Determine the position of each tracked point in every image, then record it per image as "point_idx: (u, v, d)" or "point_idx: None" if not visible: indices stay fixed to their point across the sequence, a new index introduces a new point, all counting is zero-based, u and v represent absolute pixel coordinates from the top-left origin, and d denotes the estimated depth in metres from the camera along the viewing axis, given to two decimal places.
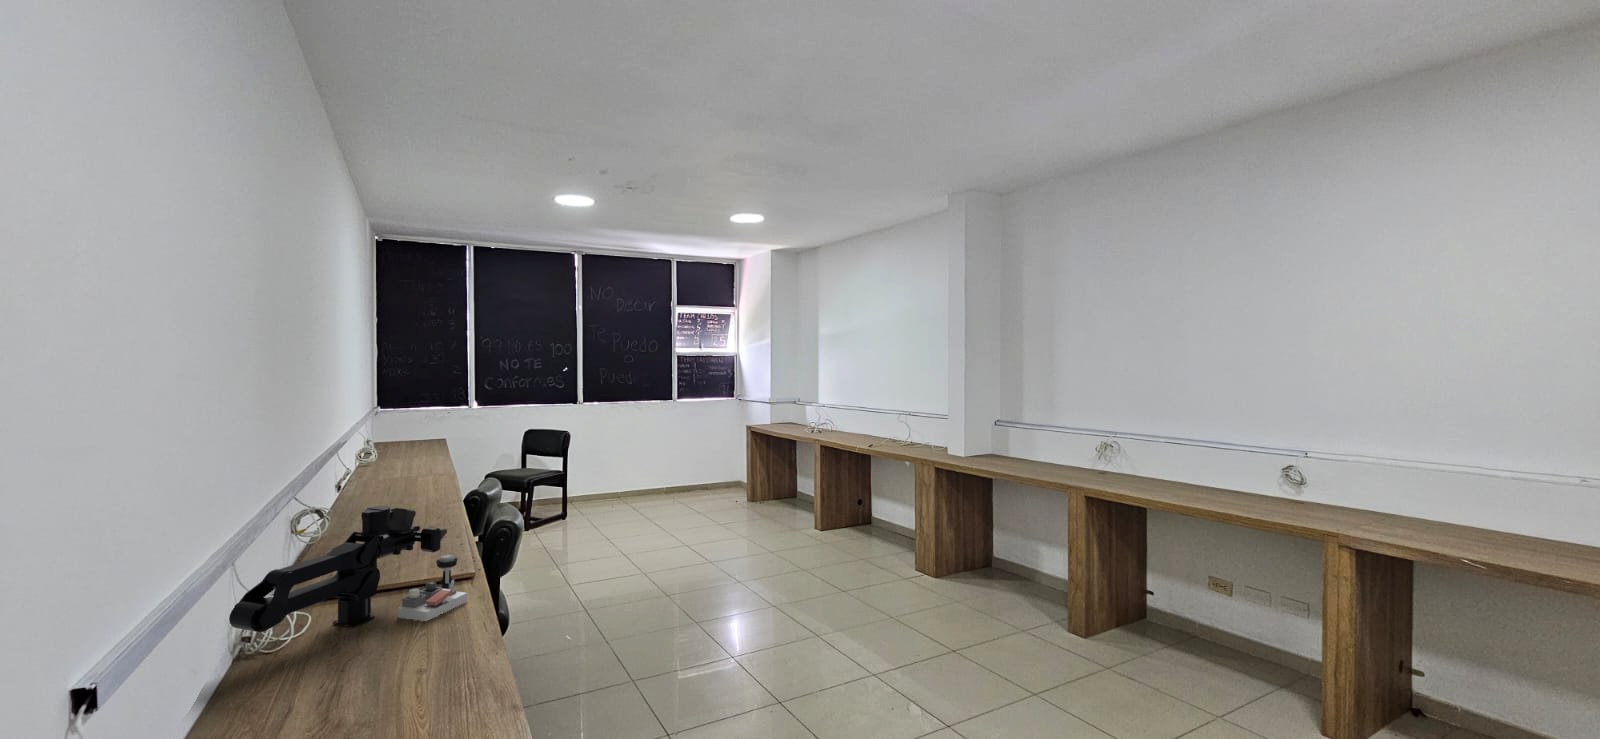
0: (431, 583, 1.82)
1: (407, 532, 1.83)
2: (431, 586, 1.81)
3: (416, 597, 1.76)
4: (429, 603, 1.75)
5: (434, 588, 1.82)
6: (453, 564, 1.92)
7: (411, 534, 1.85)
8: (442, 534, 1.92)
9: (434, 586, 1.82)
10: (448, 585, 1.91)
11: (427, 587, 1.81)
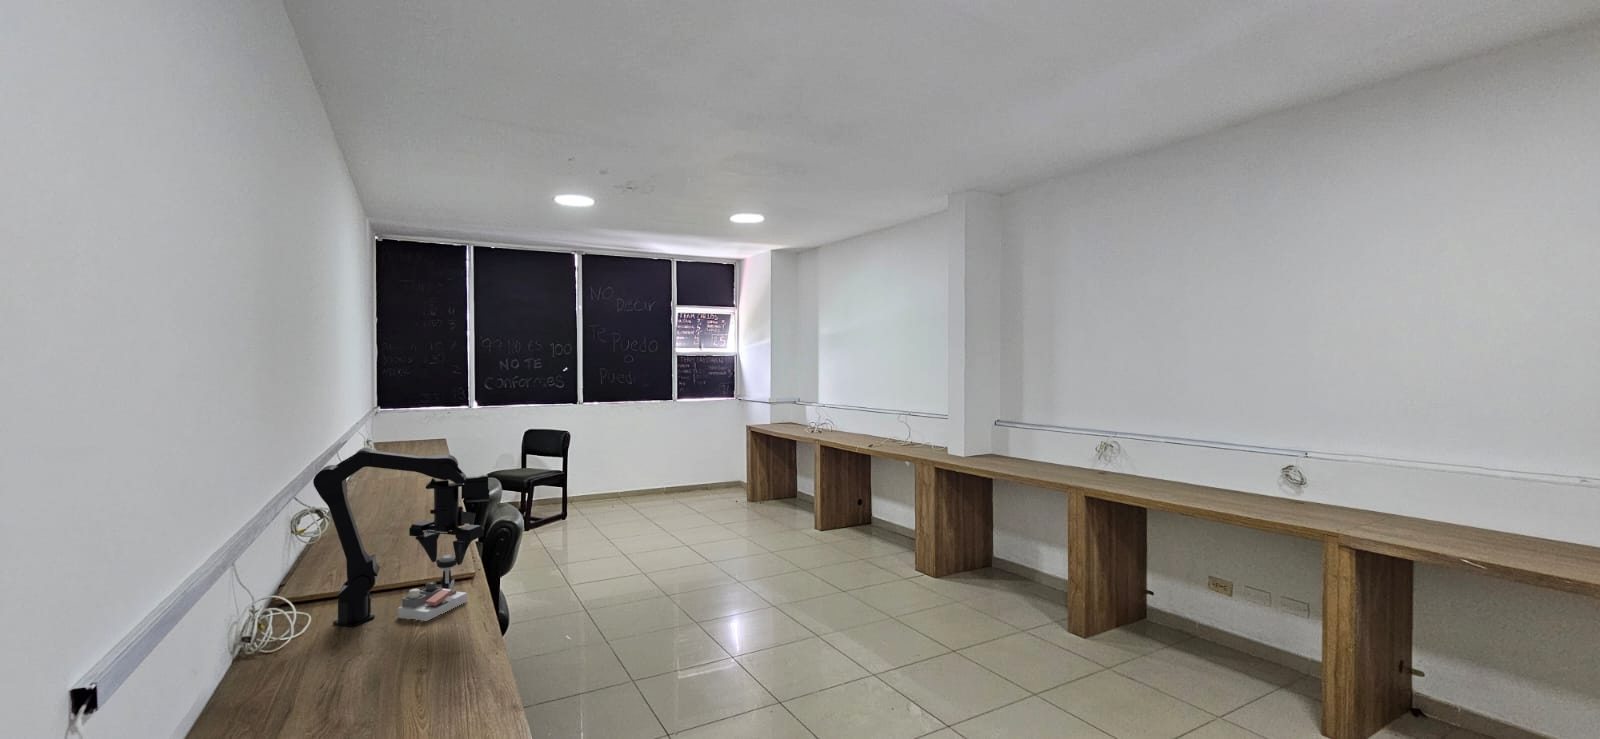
0: (431, 583, 1.82)
1: (462, 516, 1.81)
2: (431, 586, 1.81)
3: (416, 597, 1.76)
4: (429, 603, 1.75)
5: (434, 588, 1.82)
6: (453, 564, 1.92)
7: (458, 524, 1.81)
8: (461, 555, 1.79)
9: (434, 586, 1.82)
10: (448, 585, 1.91)
11: (427, 587, 1.81)
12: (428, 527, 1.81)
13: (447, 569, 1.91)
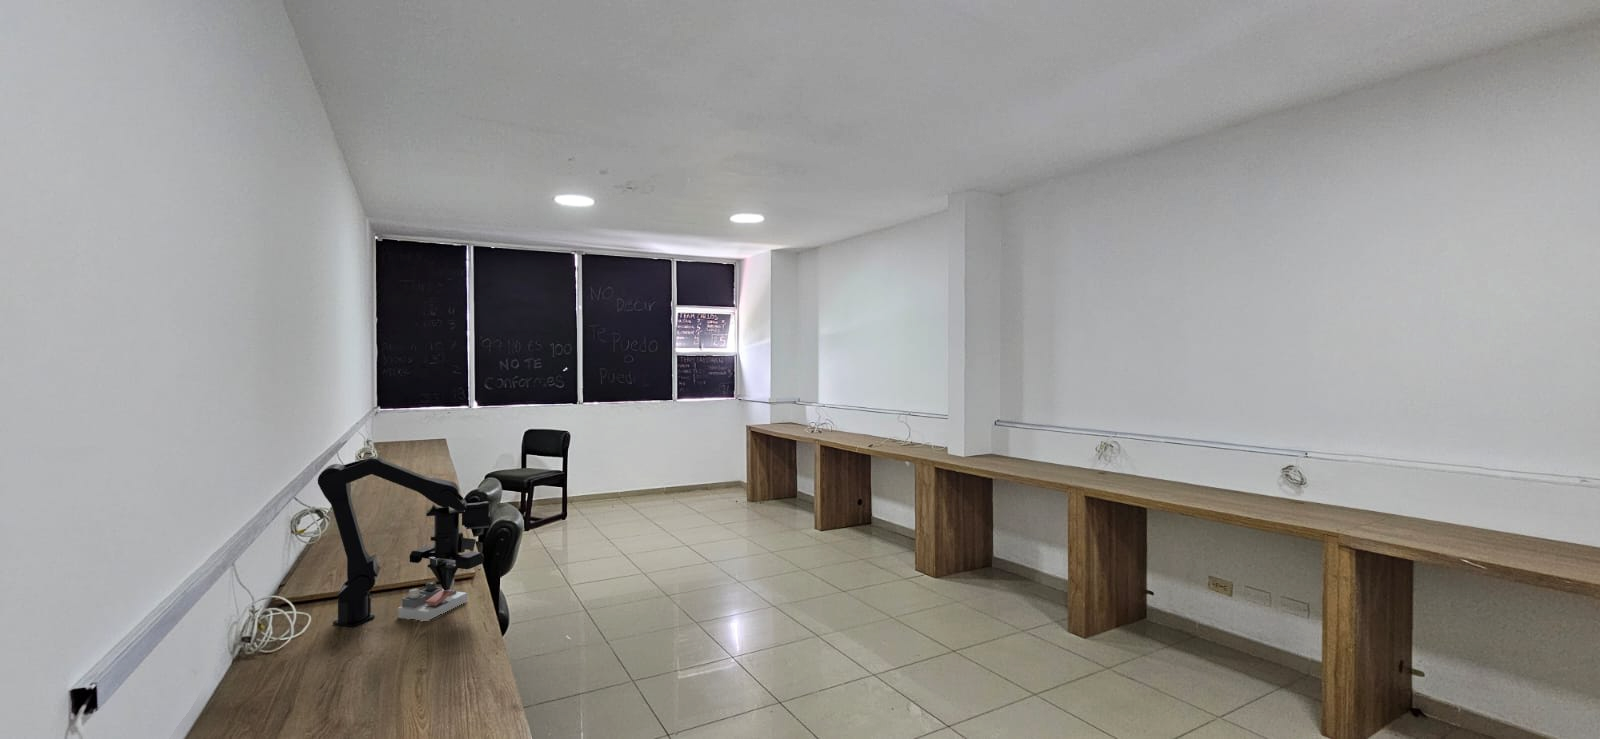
0: (431, 583, 1.82)
1: (462, 543, 1.82)
2: (431, 586, 1.81)
3: (416, 597, 1.76)
4: (429, 603, 1.75)
5: (434, 588, 1.82)
6: None
7: (458, 550, 1.81)
8: (449, 580, 1.80)
9: (434, 586, 1.82)
10: None
11: (427, 587, 1.81)
12: (428, 553, 1.81)
13: None
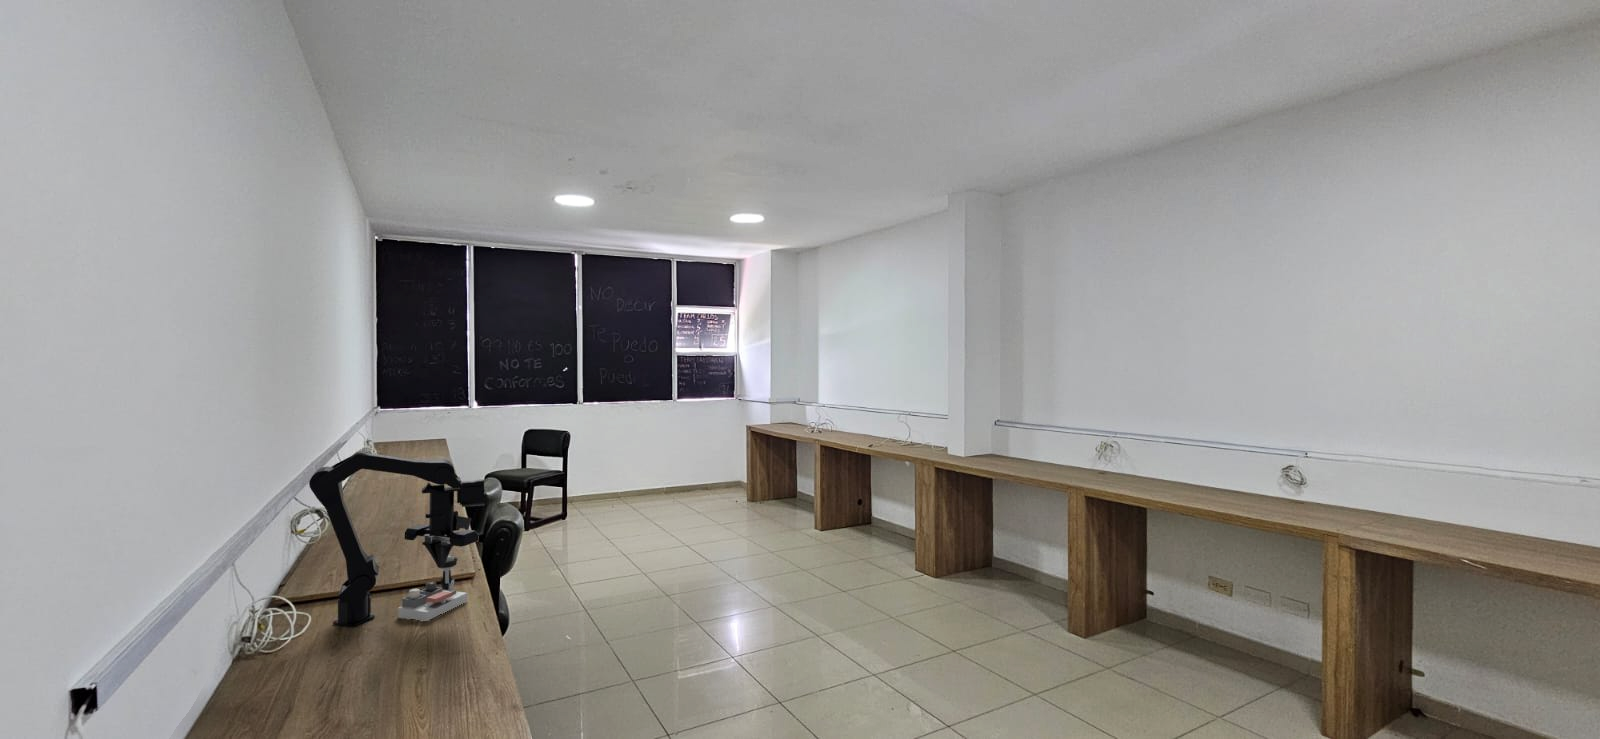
0: (431, 583, 1.82)
1: (457, 521, 1.82)
2: (431, 586, 1.81)
3: (416, 597, 1.76)
4: (429, 601, 1.75)
5: (434, 588, 1.82)
6: (453, 564, 1.92)
7: (453, 528, 1.81)
8: (444, 558, 1.80)
9: (434, 586, 1.82)
10: (448, 585, 1.91)
11: (427, 587, 1.81)
12: (423, 531, 1.81)
13: (447, 569, 1.91)
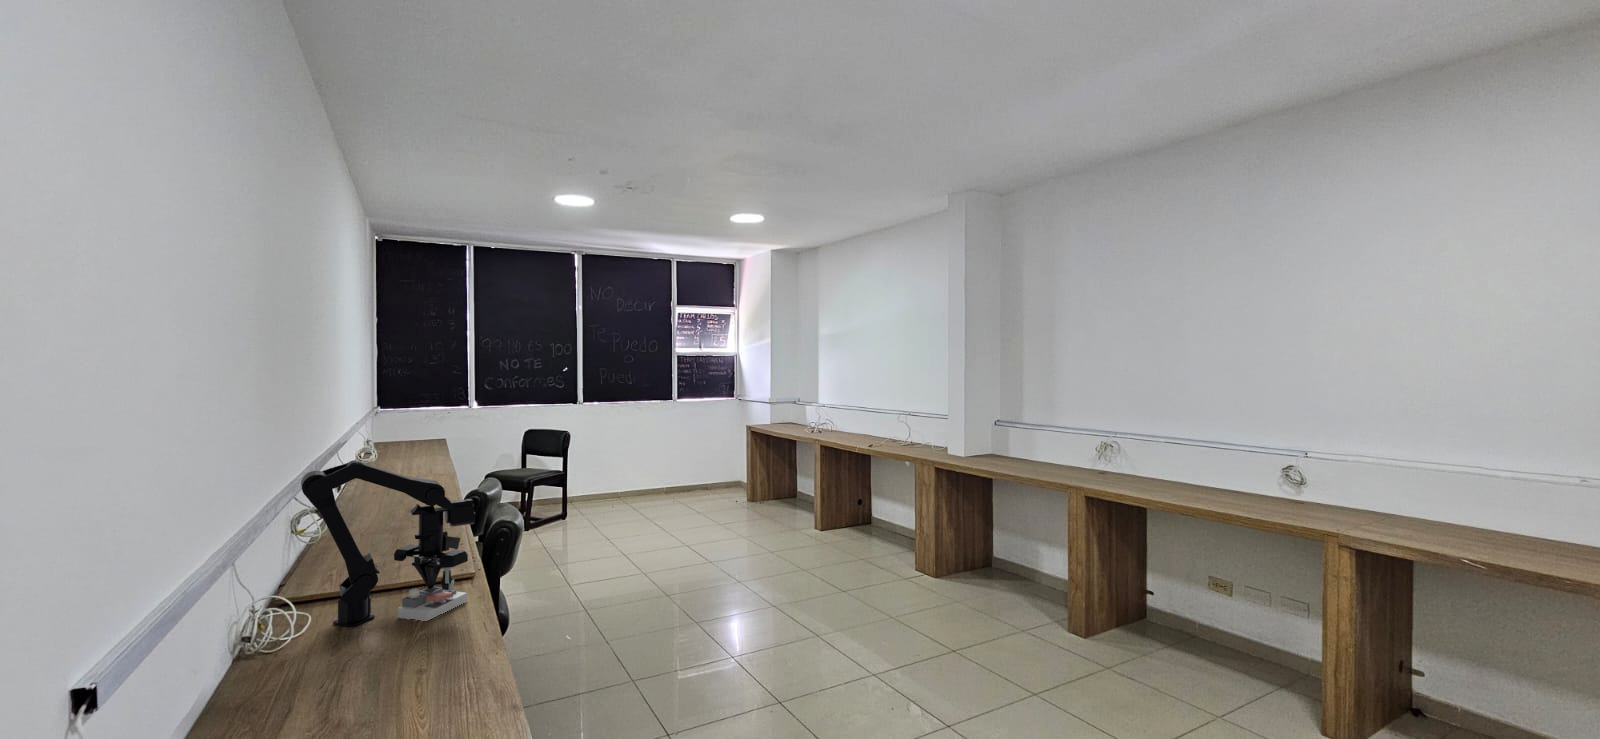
0: None
1: (447, 541, 1.83)
2: (431, 590, 1.81)
3: (416, 597, 1.76)
4: (429, 599, 1.75)
5: None
6: None
7: (442, 549, 1.82)
8: (433, 578, 1.81)
9: (434, 590, 1.82)
10: (448, 585, 1.91)
11: (427, 591, 1.81)
12: (413, 552, 1.82)
13: (447, 569, 1.91)
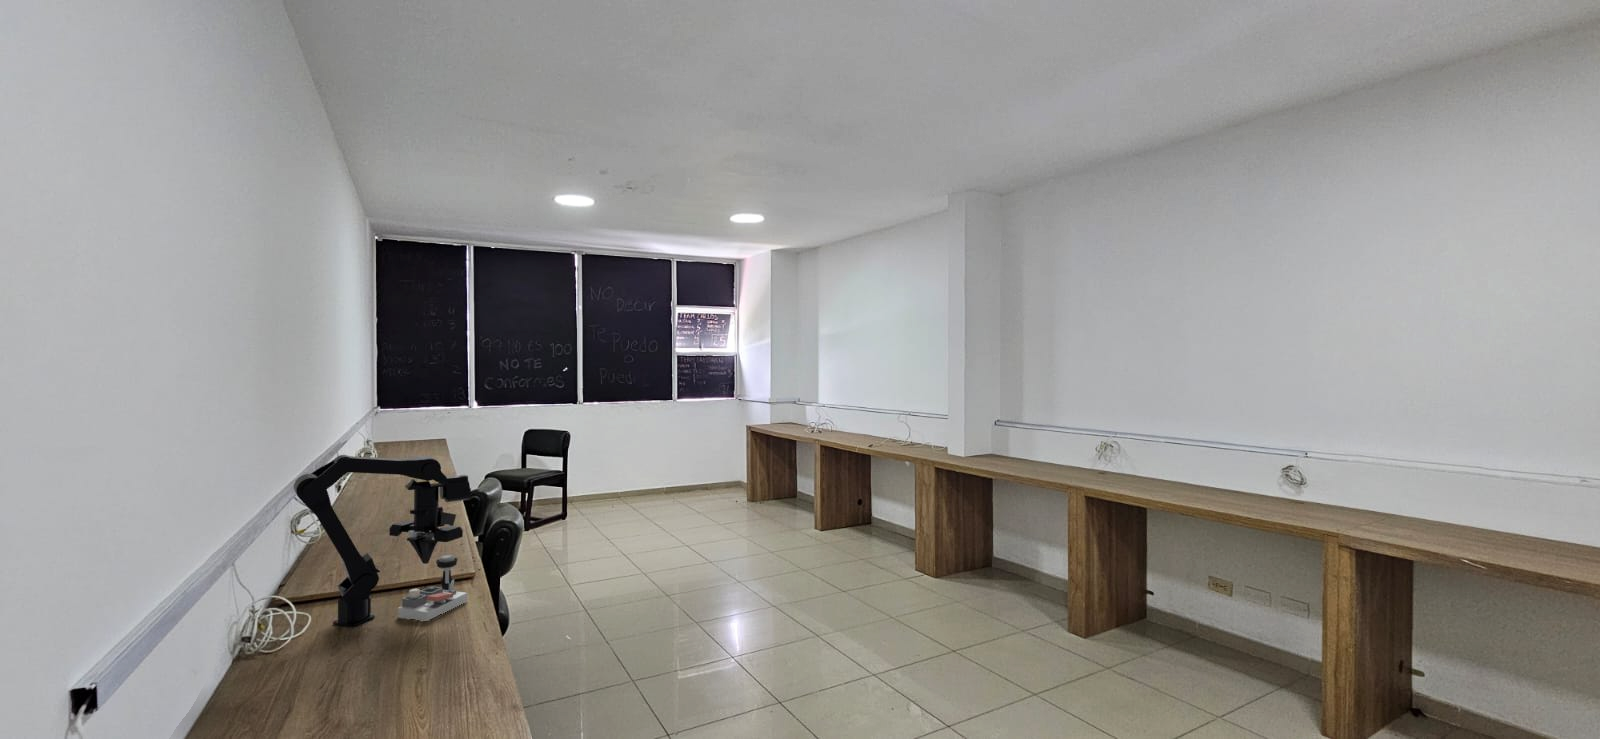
0: (431, 587, 1.82)
1: (442, 517, 1.83)
2: (431, 591, 1.81)
3: (416, 597, 1.76)
4: (429, 599, 1.75)
5: None
6: (453, 564, 1.92)
7: (438, 524, 1.82)
8: (428, 554, 1.81)
9: None
10: (448, 585, 1.91)
11: None
12: (408, 527, 1.82)
13: (447, 569, 1.91)
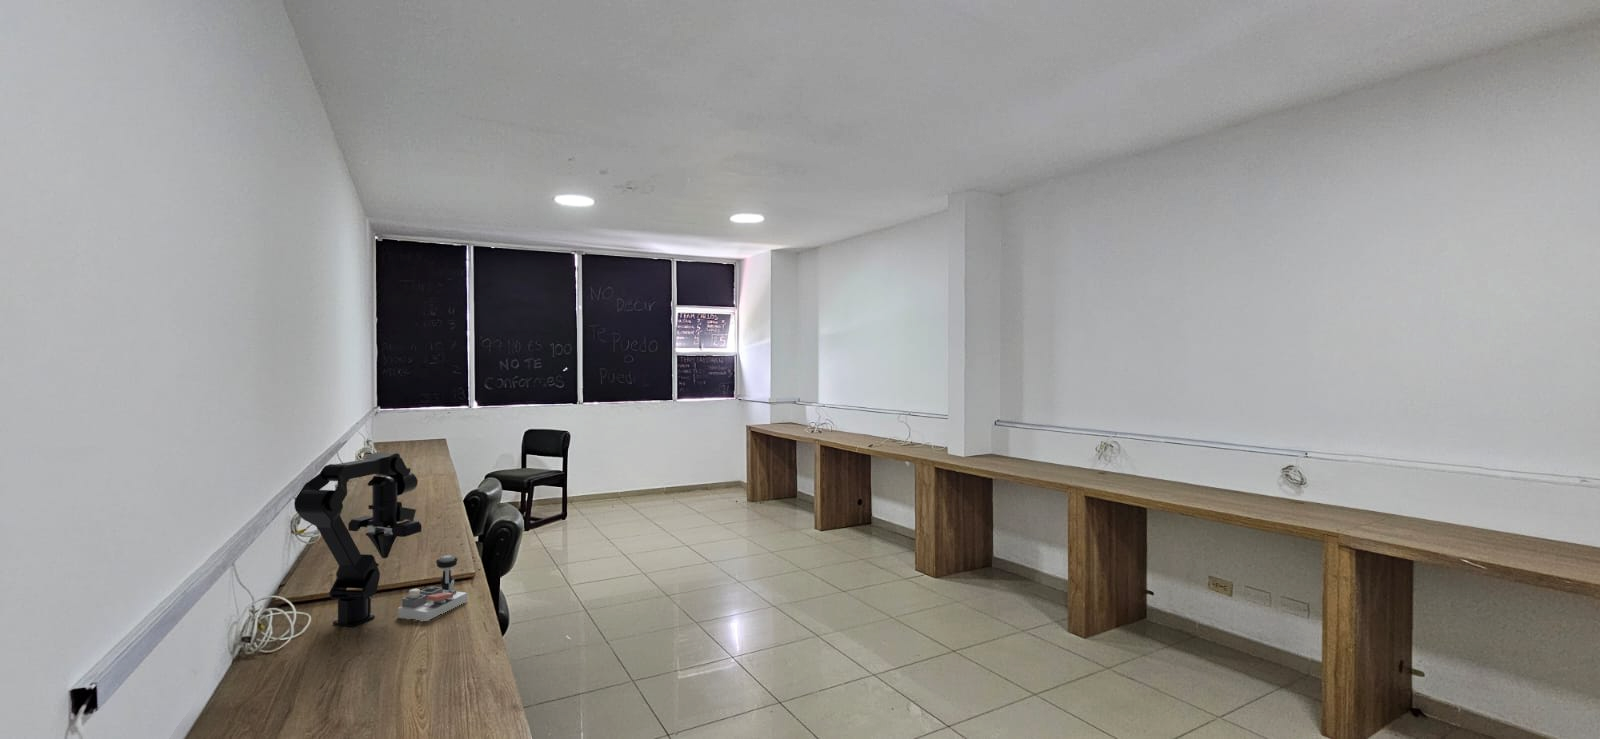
0: (431, 587, 1.82)
1: (401, 512, 1.85)
2: (431, 591, 1.81)
3: (416, 597, 1.76)
4: (429, 599, 1.76)
5: None
6: (453, 564, 1.92)
7: (397, 519, 1.84)
8: (387, 548, 1.83)
9: None
10: (448, 585, 1.91)
11: None
12: (367, 522, 1.84)
13: (447, 569, 1.91)
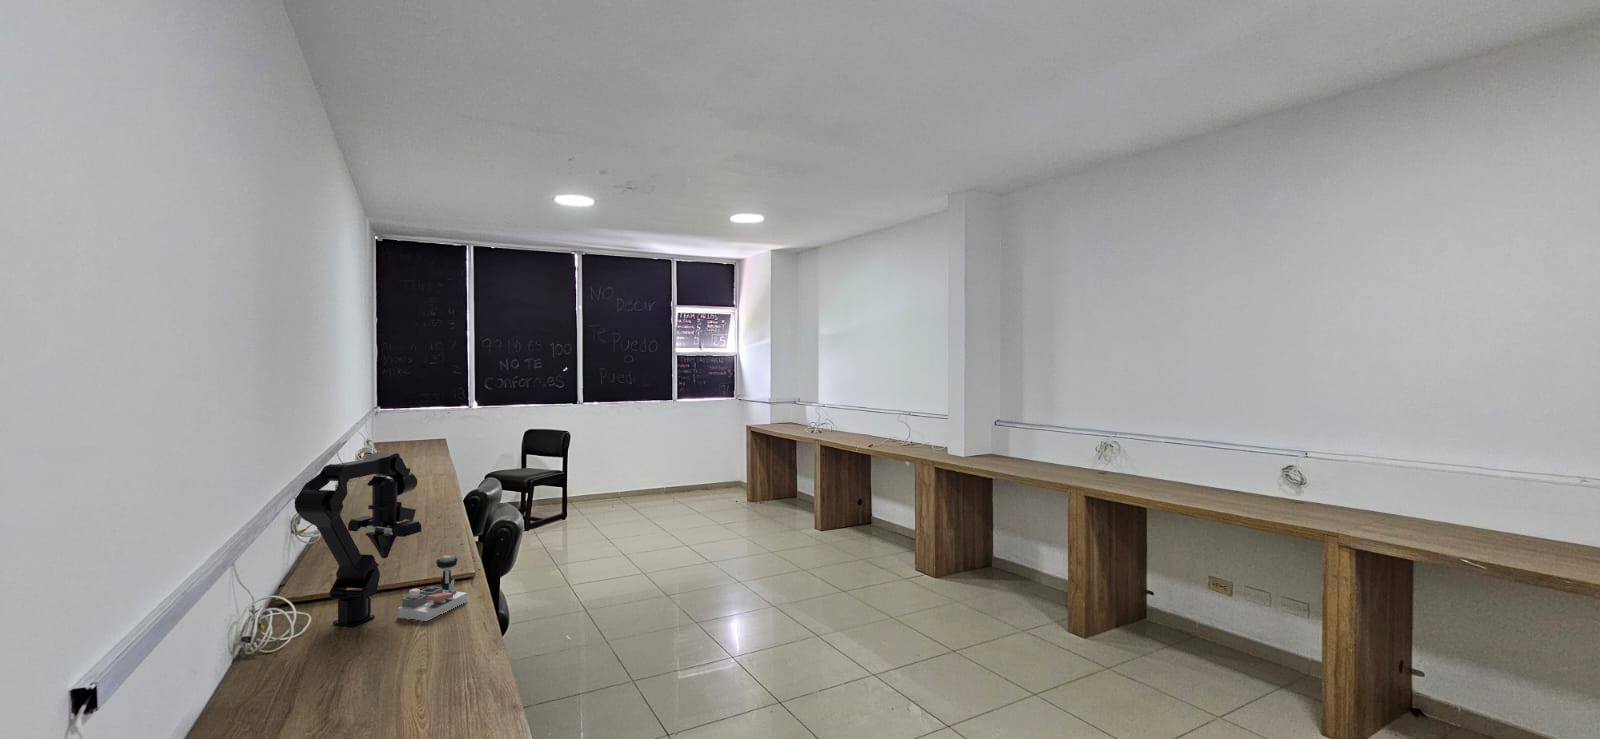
0: (431, 587, 1.82)
1: (401, 512, 1.85)
2: (431, 591, 1.81)
3: (416, 597, 1.76)
4: (429, 599, 1.76)
5: None
6: (453, 564, 1.92)
7: (396, 519, 1.84)
8: (387, 548, 1.83)
9: None
10: (448, 585, 1.91)
11: None
12: (367, 522, 1.84)
13: (447, 569, 1.91)
